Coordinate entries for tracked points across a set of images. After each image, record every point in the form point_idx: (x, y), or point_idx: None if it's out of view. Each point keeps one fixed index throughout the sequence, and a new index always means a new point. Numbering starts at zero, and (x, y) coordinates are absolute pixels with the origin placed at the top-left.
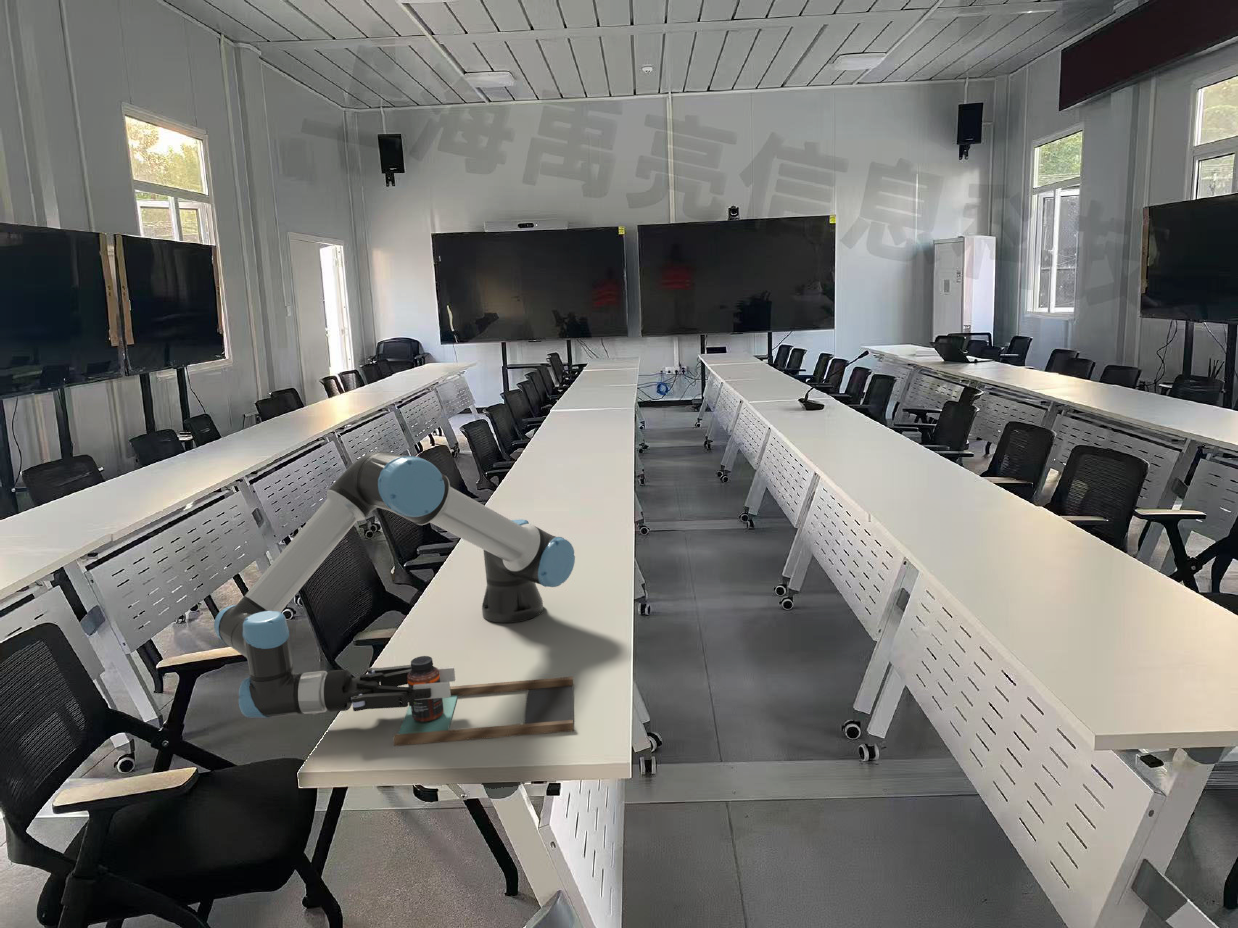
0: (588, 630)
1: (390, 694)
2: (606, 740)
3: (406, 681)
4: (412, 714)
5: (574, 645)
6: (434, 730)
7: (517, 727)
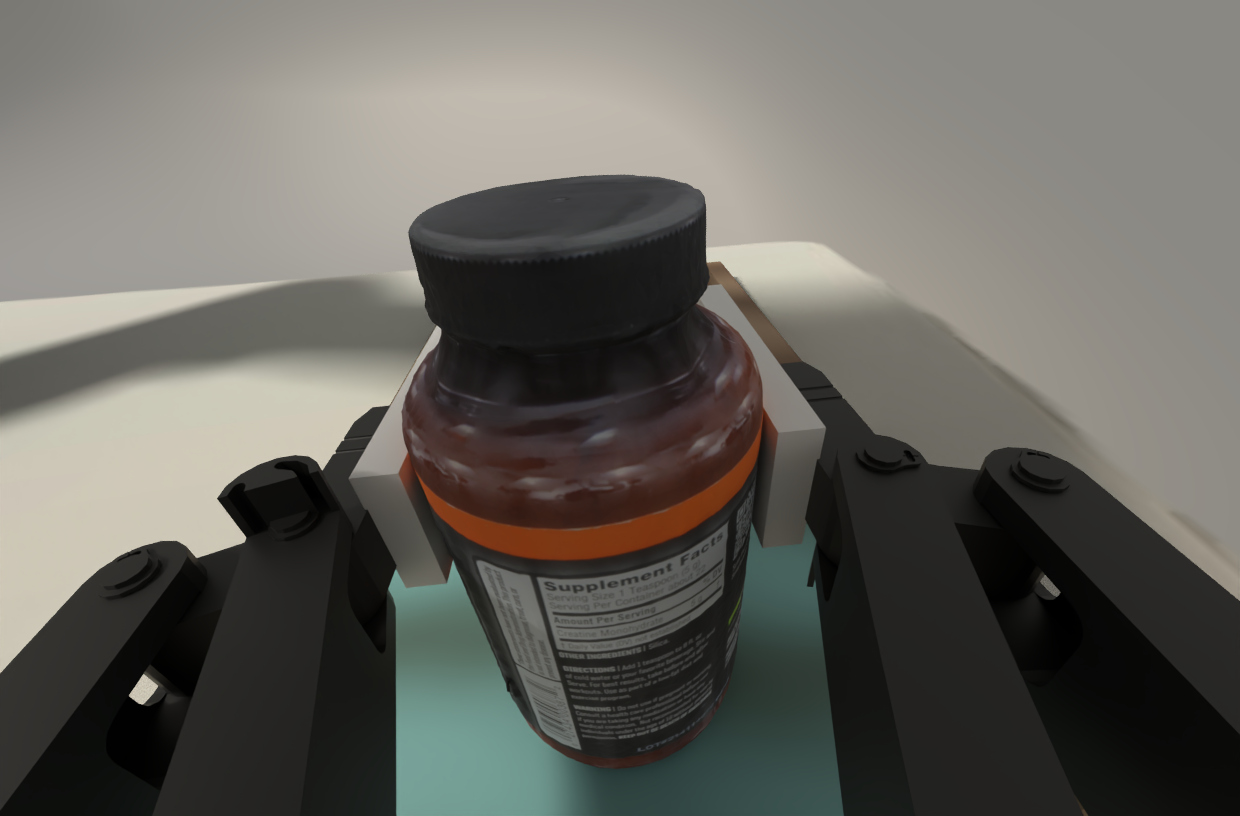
0: (127, 323)
1: (1232, 644)
2: (753, 254)
3: (383, 725)
4: (692, 728)
5: (204, 330)
6: (801, 564)
7: (763, 315)
